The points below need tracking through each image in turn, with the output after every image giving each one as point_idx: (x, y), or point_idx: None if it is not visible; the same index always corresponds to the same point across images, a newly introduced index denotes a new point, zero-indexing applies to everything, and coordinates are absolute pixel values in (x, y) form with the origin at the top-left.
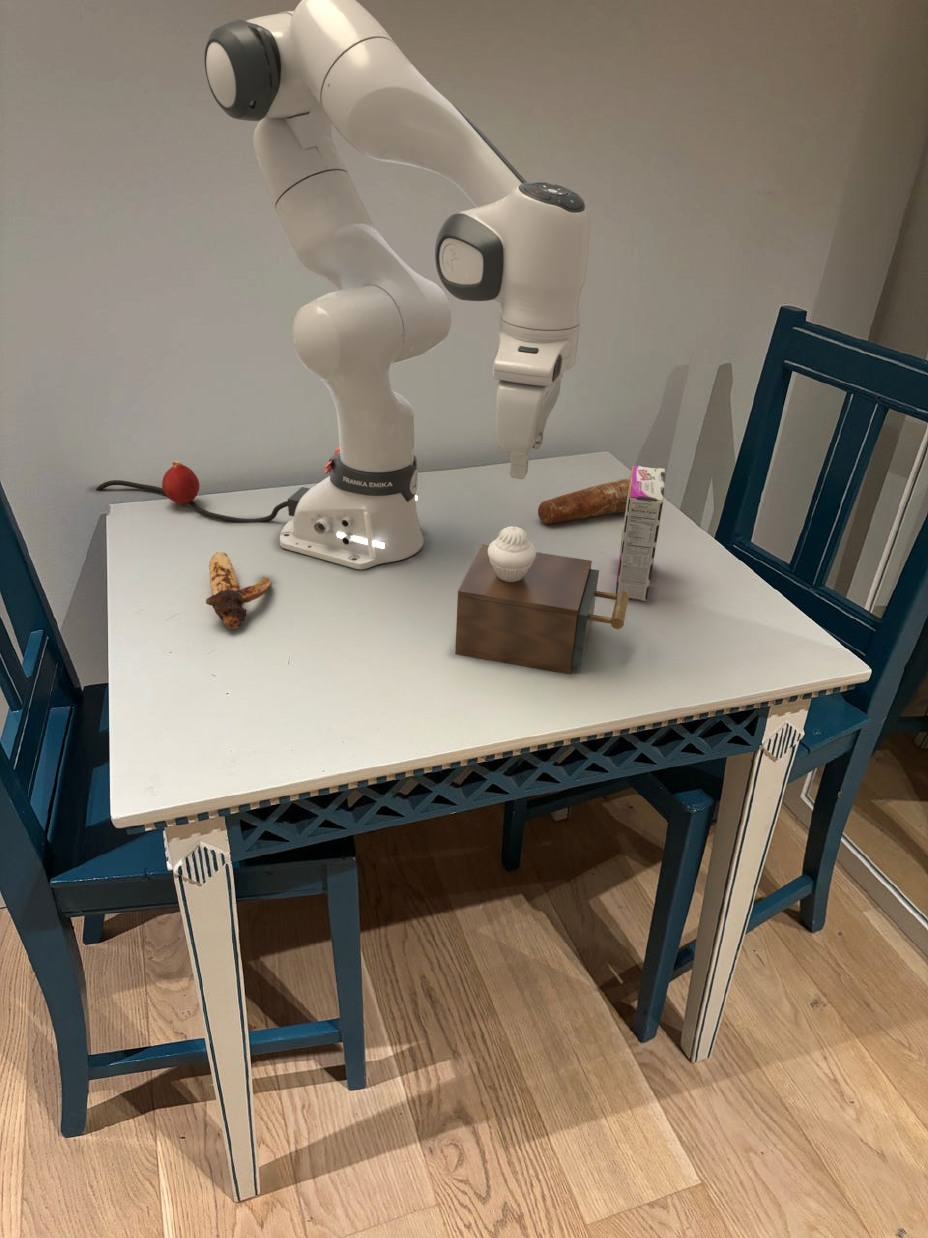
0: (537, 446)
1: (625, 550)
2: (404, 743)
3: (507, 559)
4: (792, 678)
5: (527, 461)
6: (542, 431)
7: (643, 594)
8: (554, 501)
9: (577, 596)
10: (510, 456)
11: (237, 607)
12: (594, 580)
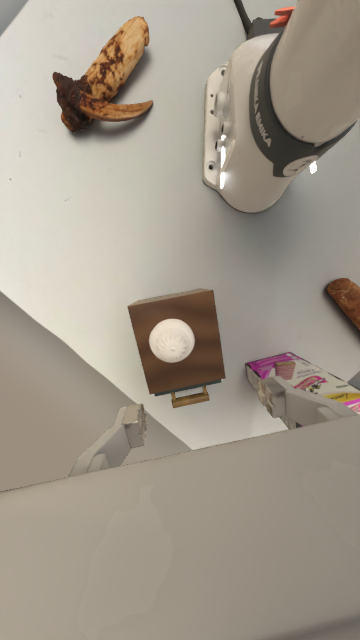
0: (260, 398)
1: None
2: (43, 313)
3: (150, 346)
4: None
5: (140, 444)
6: (290, 417)
7: (249, 380)
8: (350, 291)
9: (168, 387)
10: (91, 447)
11: (66, 113)
12: (204, 384)
